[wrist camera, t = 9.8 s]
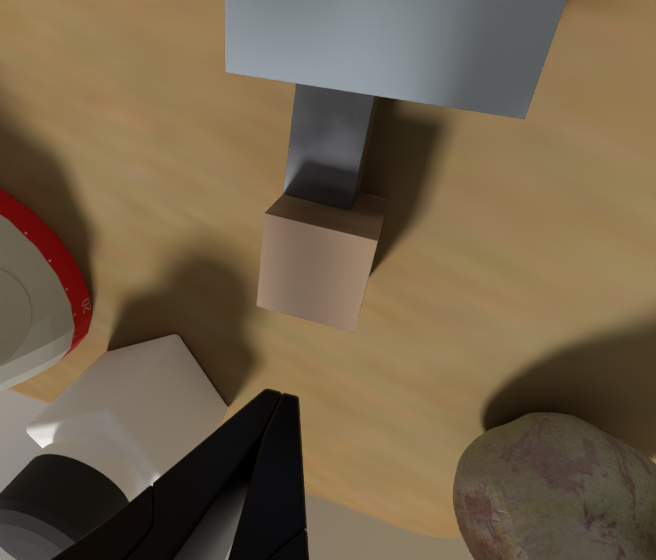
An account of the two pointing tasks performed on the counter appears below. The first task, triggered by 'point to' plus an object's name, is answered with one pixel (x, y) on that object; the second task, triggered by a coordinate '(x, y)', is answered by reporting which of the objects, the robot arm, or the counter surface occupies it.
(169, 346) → the light grey rectangular box
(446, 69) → the tunnel
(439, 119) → the counter surface
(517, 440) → the grey rounded lump
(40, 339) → the kitchen timer
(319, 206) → the block
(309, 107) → the bar
